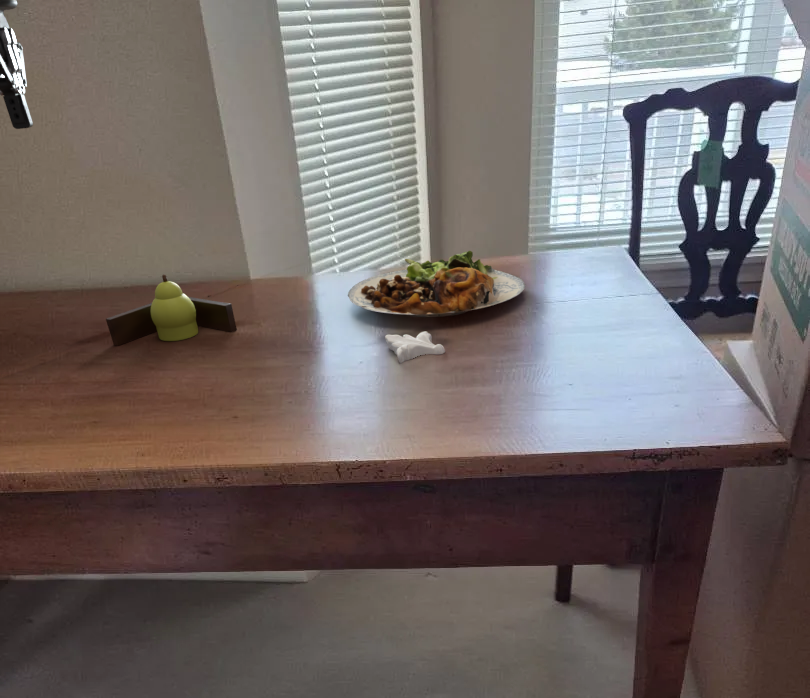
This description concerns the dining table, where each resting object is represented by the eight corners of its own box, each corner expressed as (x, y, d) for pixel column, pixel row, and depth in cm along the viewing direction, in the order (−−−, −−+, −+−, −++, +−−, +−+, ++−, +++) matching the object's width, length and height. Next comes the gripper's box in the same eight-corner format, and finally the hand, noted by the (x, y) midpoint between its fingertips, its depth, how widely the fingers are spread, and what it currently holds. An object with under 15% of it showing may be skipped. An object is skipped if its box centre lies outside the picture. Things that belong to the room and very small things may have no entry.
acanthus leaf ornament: (399, 364, 95) (397, 350, 94) (379, 349, 100) (377, 336, 99) (450, 351, 97) (449, 338, 96) (428, 338, 102) (427, 324, 101)
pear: (178, 343, 109) (162, 282, 104) (147, 339, 112) (131, 278, 107) (209, 330, 113) (195, 270, 108) (179, 326, 116) (164, 267, 111)
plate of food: (453, 269, 132) (452, 234, 129) (562, 298, 113) (564, 257, 109) (318, 304, 120) (313, 266, 117) (414, 343, 101) (411, 299, 97)
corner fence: (168, 357, 104) (161, 329, 101) (113, 344, 111) (105, 318, 108) (237, 329, 112) (231, 303, 110) (181, 319, 119) (175, 294, 117)
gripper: (-43, -31, 91) (9, 127, 101) (-86, -44, 80) (-23, 135, 90) (18, -36, 92) (64, 121, 102) (-16, -49, 81) (40, 129, 91)
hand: (23, 127), depth 96 cm, fingers closed
